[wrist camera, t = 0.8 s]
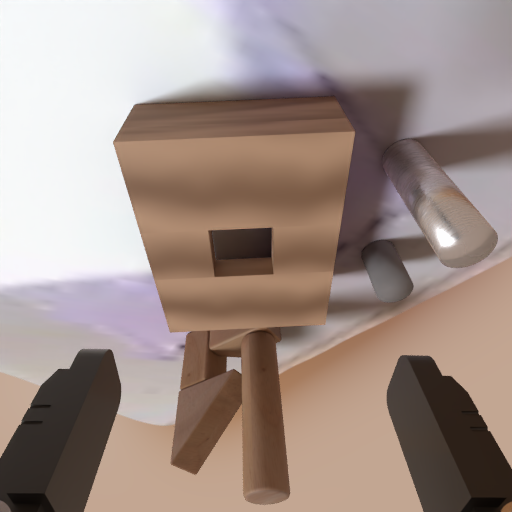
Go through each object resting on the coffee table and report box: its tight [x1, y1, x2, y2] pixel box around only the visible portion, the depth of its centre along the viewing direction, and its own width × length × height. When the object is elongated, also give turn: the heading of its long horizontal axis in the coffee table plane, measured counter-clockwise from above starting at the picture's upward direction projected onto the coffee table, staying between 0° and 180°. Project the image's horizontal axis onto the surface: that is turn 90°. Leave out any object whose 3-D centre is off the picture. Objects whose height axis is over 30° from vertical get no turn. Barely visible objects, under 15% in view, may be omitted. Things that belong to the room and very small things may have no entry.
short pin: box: [362, 240, 413, 302], centre depth 34 cm, size 3×3×5 cm
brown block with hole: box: [113, 96, 355, 332], centre depth 29 cm, size 18×14×6 cm
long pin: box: [382, 139, 498, 268], centre depth 25 cm, size 3×3×11 cm
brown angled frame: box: [171, 327, 290, 505], centre depth 36 cm, size 4×11×18 cm, turn 123°
